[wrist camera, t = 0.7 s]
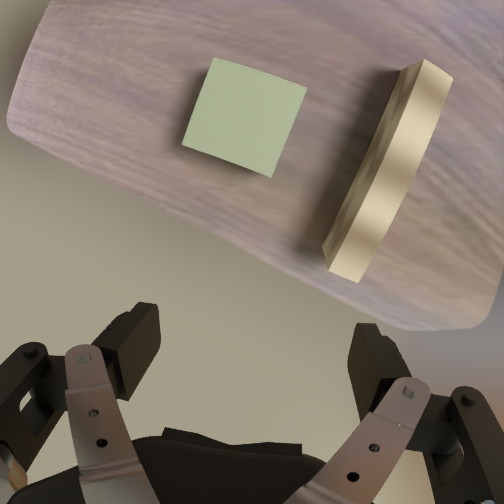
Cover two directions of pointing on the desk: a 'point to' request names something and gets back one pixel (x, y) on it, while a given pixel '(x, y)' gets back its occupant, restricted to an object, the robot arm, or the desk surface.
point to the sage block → (243, 116)
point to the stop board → (386, 169)
